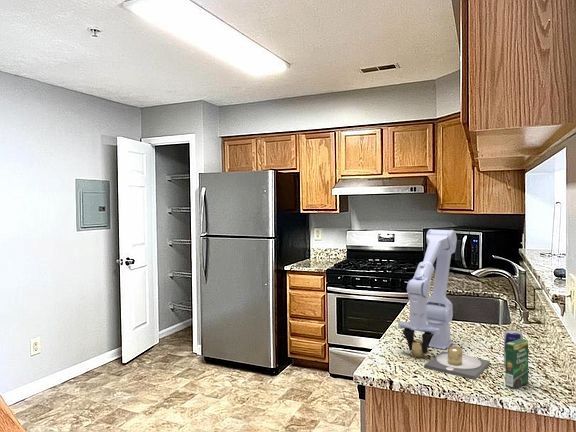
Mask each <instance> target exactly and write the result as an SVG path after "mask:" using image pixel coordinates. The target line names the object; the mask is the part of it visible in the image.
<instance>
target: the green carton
mask: <svg viewBox="0 0 576 432" xmlns="http://www.w3.org/2000/svg"><path fill="white" fill-rule="evenodd" d="M504 373H505V375H504V376H505V387H507V388H510V389H512V390H514V389H517V388H519V387H522V386H524V385H527V384H528V383H529V340H528V339H524V338H523V339H521V338H520V339H517V340H515V341H512V342H509V343H506V368H505V372H504Z"/></svg>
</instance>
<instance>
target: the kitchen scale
mask: <svg viewBox="0 0 576 432" xmlns="http://www.w3.org/2000/svg"><path fill="white" fill-rule="evenodd" d="M490 364H491V360H488V359H483V358H477V357H474V356H471V355H468V354H463V353H462V365H461V366H453V365H450V364H448V351H443V350H442V351H441V352H440V353H438V354H437V355H435V356H434V357H433V358H432V359H430V360H429V361H427V362H426V363H424V364H423V368H424V369H427V370H431V371H436V372H441V373H445V374H450V375H452V376H458V377H462V378H466V379H470V380H471V379H472V380H477V378H478V377H479V376H480V375H481V374H482V373H483V372H484V370H486V369H487V367H489V365H490Z"/></svg>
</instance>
